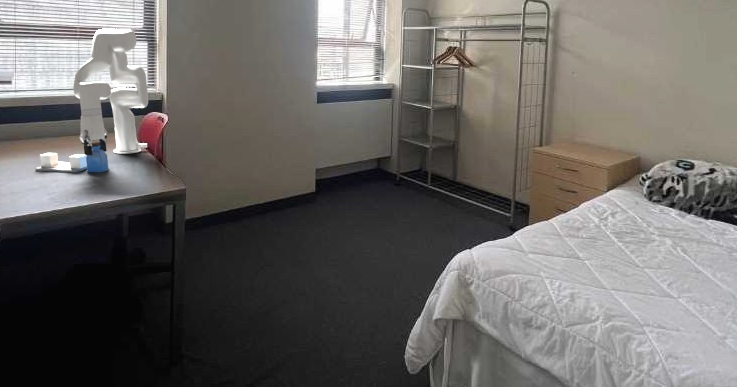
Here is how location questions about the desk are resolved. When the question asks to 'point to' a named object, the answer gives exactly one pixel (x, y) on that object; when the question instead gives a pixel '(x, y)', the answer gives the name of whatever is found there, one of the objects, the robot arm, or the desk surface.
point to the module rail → (62, 163)
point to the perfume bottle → (97, 159)
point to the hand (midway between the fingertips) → (95, 153)
